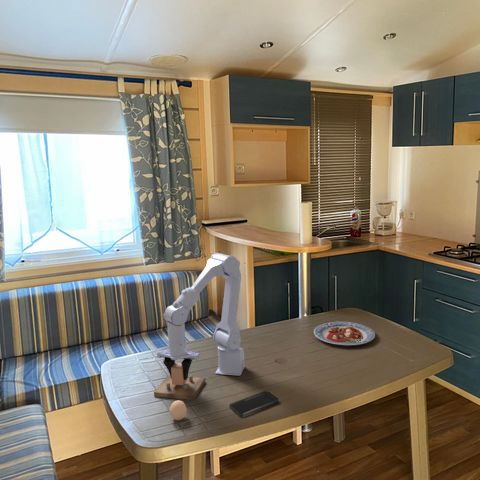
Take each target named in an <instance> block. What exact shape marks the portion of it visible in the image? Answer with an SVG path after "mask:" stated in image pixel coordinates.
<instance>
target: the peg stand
mask: <svg viewBox="0 0 480 480" xmlns="http://www.w3.org/2000/svg"><path fill="white" fill-rule="evenodd" d="M205 383H206V378H205V377H196V376H195V377H194V375H192V374H191V375H188V378H187V381H186V382H185V384H183V385H172V379H171V376H170V374H167V375H166V377H165V378H164V379H163V380H162V381H161V382H160V384H159V386H158V387H157V388H156V389H155V390H154V391H153V396H154V397H156V398H157V397H158V398H168V399H178V400H189V401H195V399H196V398H197V396H198V394H199V393H200V392H201V389H202V388H203V386H204V384H205Z"/></svg>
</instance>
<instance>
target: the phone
mask: <svg viewBox="0 0 480 480" xmlns="http://www.w3.org/2000/svg"><path fill="white" fill-rule="evenodd" d="M278 404H280V399H279V398H278V397H277V396H275V395H274V394H273V393H271V392H270V391H268V390H264V391H261V392H259V393H256V394H253V395H250V396H248V397H244V398H243V399H239V400H237V401H233V402H231V403H230V404H229V409H230V410H231V411H232V412H233V413H235V414H236V416H237V417H239V418H245V417H248V416H250V415H253V414H255V413H258V412H260V411H263V410H267V409H268V408H271V407H274V406H276V405H278Z"/></svg>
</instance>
